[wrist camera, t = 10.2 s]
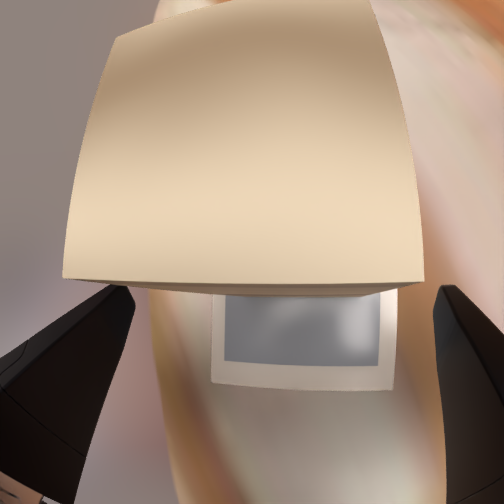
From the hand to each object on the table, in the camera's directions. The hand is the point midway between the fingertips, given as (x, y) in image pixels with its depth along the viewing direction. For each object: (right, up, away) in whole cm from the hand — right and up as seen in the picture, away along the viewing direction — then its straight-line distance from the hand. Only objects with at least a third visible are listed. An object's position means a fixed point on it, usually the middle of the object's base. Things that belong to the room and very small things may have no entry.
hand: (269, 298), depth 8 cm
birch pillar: (+2, +2, +8) cm, 8 cm away
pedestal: (+3, +2, +11) cm, 11 cm away
